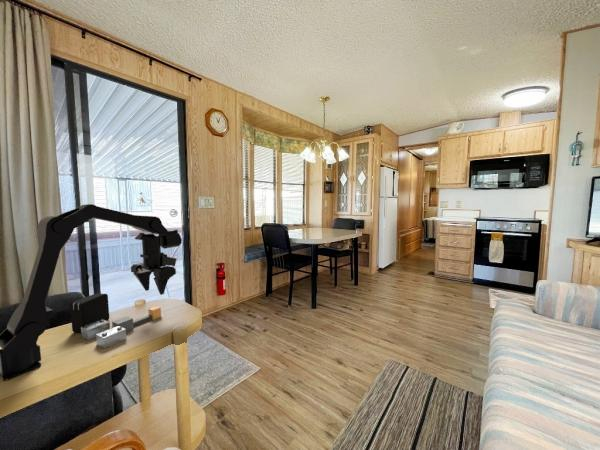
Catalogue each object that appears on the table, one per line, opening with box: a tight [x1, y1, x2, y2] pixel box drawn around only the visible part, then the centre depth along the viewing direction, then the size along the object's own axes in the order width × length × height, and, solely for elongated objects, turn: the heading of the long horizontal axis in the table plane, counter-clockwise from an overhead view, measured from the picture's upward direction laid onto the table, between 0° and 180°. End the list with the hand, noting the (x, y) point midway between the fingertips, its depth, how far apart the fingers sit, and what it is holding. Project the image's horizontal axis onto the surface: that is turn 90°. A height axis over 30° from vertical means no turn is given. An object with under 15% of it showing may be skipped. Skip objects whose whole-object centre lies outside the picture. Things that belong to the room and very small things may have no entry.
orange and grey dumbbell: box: [109, 305, 162, 332], centre depth 88 cm, size 16×4×4 cm, turn 151°
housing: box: [80, 319, 127, 349], centre depth 79 cm, size 6×14×4 cm, turn 61°
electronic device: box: [69, 293, 110, 333], centre depth 87 cm, size 4×10×10 cm, turn 174°
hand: (154, 292), depth 93 cm, fingers open, 9 cm apart
